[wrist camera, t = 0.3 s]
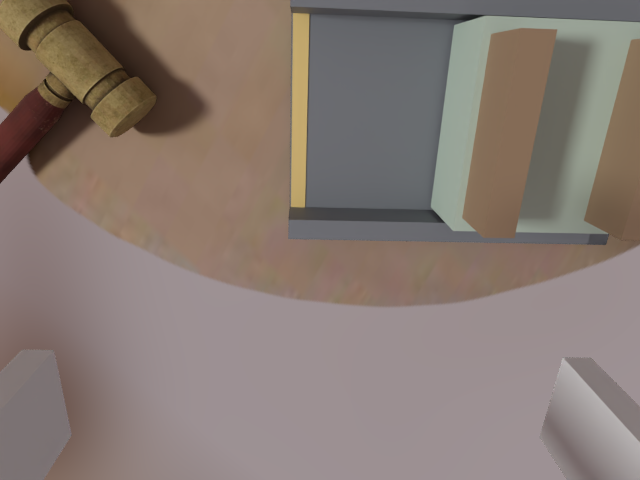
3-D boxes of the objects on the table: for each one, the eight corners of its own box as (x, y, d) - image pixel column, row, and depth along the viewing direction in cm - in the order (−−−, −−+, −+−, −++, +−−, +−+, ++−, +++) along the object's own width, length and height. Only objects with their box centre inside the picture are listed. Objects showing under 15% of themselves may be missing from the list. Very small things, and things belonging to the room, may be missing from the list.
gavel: (-25, 273, 36) (-142, 182, 33) (12, 249, 40) (-89, 167, 37) (143, 101, 30) (21, -27, 27) (166, 95, 34) (62, -17, 31)
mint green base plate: (454, 25, 32) (515, 6, 23) (611, 31, 33) (733, 16, 24) (430, 207, 37) (473, 252, 28) (567, 210, 38) (653, 255, 29)
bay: (292, -11, 32) (290, -22, 28) (635, 4, 33) (677, -4, 30) (289, 222, 38) (288, 238, 35) (577, 228, 40) (605, 244, 36)
